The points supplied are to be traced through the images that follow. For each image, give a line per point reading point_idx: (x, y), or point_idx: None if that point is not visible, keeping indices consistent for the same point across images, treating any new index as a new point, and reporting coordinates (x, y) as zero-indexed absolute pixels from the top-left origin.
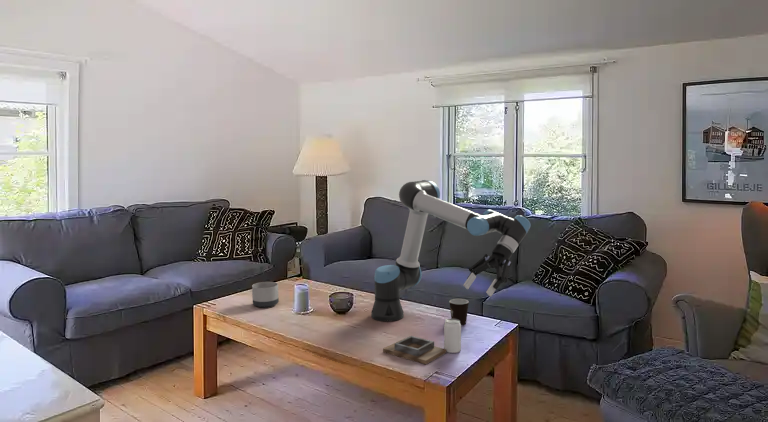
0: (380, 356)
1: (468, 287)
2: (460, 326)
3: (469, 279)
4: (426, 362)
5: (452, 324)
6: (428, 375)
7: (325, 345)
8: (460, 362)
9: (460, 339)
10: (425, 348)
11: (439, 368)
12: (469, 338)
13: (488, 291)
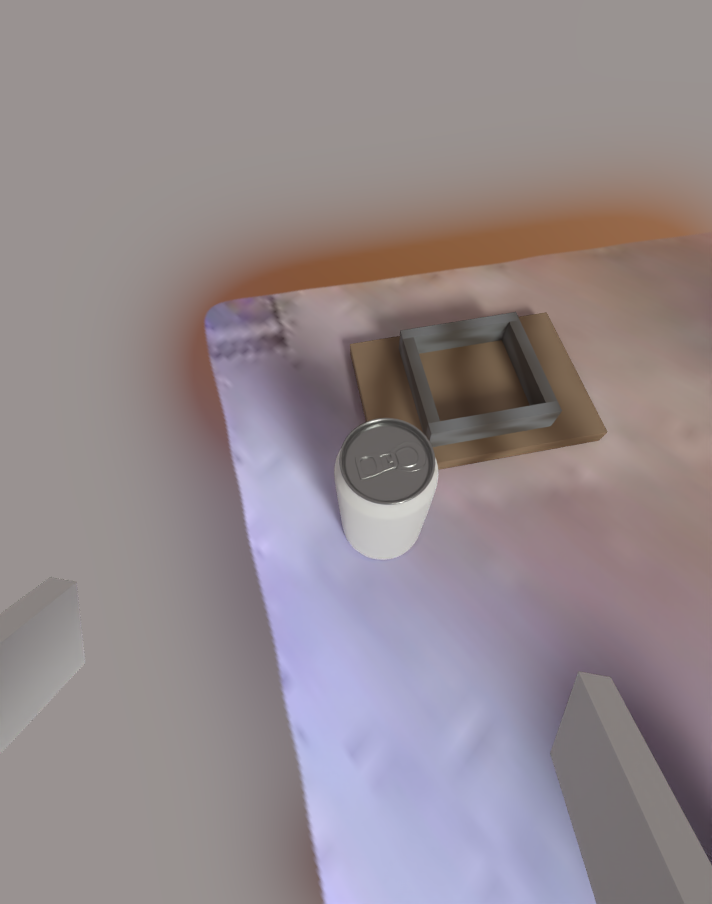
0: (511, 298)
1: (563, 772)
2: (337, 490)
3: (642, 848)
4: (351, 353)
5: (356, 432)
6: (282, 310)
7: (707, 238)
8: (269, 451)
9: (342, 518)
10: (412, 379)
11: (292, 364)
12: (450, 740)
13: (30, 600)
